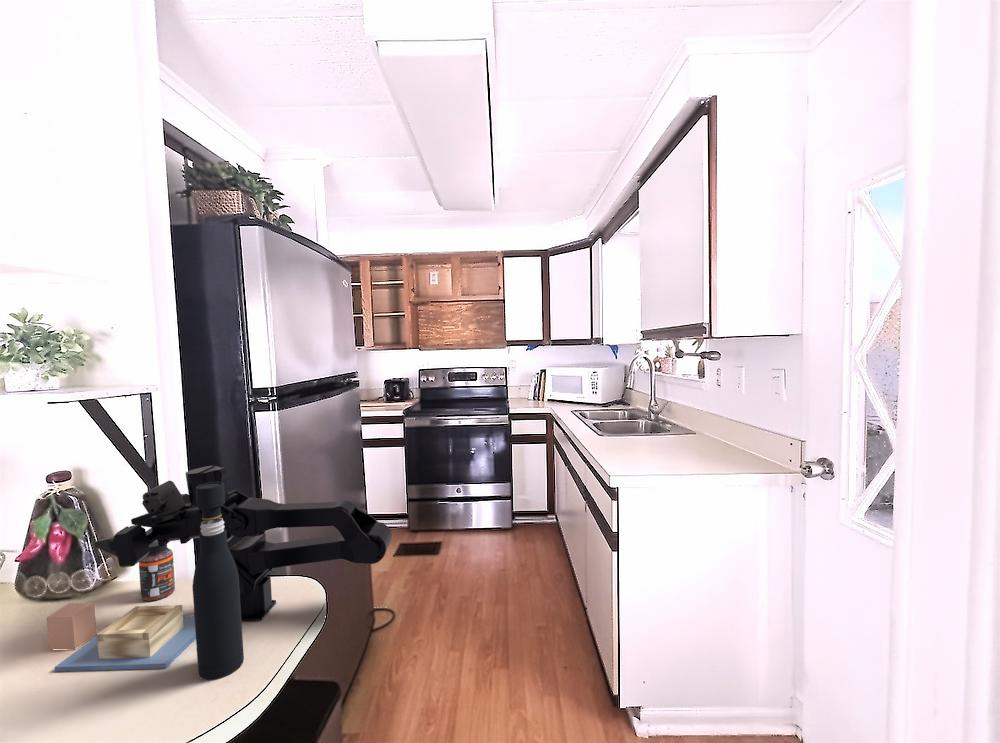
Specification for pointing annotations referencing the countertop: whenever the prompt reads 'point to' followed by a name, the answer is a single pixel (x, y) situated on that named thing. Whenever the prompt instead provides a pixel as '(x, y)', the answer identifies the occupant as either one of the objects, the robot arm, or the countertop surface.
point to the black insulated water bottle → (216, 592)
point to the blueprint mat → (162, 658)
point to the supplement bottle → (157, 573)
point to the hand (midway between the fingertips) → (114, 532)
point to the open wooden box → (140, 632)
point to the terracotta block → (71, 626)
